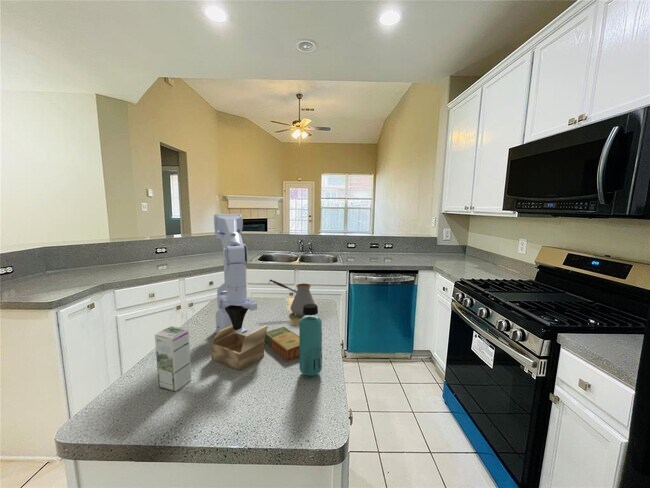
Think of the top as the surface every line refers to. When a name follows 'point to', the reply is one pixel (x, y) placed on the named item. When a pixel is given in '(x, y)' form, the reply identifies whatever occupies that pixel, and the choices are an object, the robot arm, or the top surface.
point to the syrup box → (173, 358)
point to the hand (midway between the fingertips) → (237, 328)
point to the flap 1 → (224, 333)
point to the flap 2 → (254, 338)
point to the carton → (283, 343)
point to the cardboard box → (235, 352)
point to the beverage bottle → (310, 341)
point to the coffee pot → (299, 297)
